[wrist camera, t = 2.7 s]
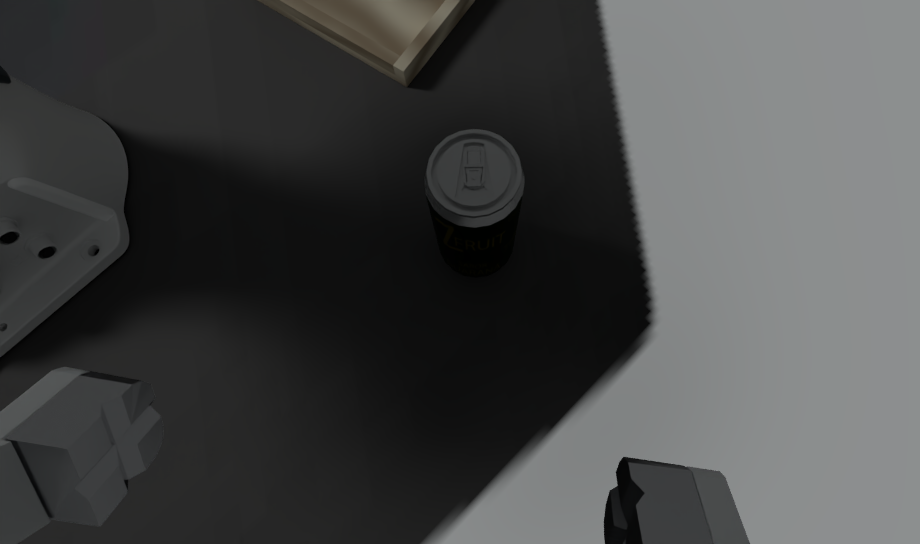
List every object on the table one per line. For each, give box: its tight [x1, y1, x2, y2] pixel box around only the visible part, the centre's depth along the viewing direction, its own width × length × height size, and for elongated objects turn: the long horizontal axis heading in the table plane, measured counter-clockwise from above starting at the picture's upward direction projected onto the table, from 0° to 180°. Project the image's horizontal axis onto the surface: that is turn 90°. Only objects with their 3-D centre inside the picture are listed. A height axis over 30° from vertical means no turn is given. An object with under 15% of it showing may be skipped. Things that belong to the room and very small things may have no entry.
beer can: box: [424, 129, 525, 277], centre depth 33 cm, size 5×5×12 cm
